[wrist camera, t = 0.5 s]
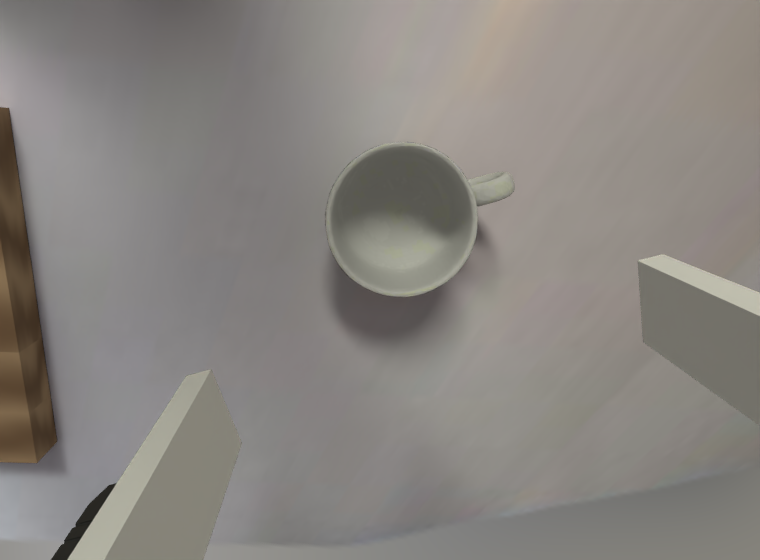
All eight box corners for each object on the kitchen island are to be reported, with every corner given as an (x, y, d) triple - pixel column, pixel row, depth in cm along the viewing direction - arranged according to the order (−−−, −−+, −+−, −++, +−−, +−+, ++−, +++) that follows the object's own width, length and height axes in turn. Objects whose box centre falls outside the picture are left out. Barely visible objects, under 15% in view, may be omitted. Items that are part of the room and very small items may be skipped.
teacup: (340, 275, 41) (338, 308, 33) (319, 150, 38) (311, 154, 30) (494, 253, 41) (527, 280, 34) (487, 126, 38) (522, 124, 30)
